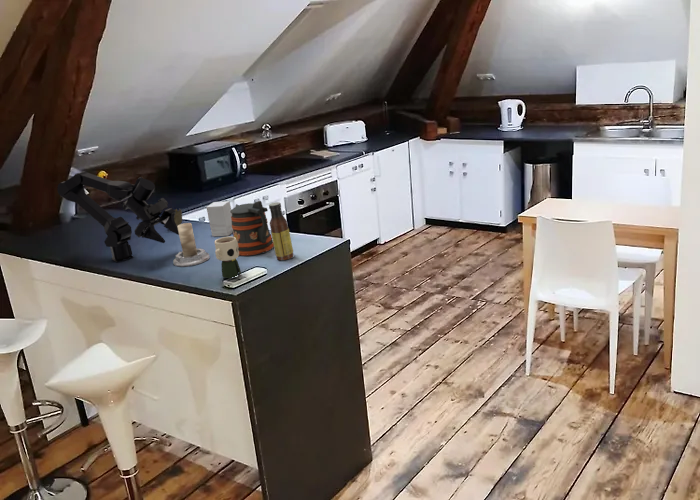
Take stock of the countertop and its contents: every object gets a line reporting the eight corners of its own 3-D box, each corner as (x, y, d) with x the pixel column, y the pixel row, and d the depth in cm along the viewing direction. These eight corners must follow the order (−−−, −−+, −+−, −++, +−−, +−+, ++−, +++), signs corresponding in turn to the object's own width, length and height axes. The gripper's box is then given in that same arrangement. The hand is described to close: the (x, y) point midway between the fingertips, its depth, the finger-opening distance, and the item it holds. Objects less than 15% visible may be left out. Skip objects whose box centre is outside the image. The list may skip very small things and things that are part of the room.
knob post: (184, 261, 247) (177, 228, 243) (184, 257, 252) (177, 224, 248) (198, 258, 248) (191, 225, 244) (197, 254, 252) (191, 222, 249)
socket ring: (182, 269, 241) (180, 262, 241) (168, 261, 252) (166, 254, 251) (215, 258, 248) (214, 251, 247) (200, 251, 259) (199, 244, 258)
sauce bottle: (294, 254, 243) (286, 199, 237) (293, 259, 237) (285, 204, 231) (275, 256, 243) (267, 202, 237) (274, 262, 237) (265, 206, 231)
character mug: (230, 283, 222) (222, 245, 218) (213, 281, 226) (205, 244, 221) (250, 271, 231) (244, 235, 227) (234, 270, 234) (227, 233, 230)
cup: (163, 231, 293) (159, 213, 290) (175, 226, 299) (171, 208, 296) (177, 232, 289) (173, 213, 287) (188, 226, 295) (185, 208, 293)
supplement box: (235, 230, 281) (230, 200, 277) (228, 236, 274) (222, 205, 270) (219, 231, 283) (213, 201, 279) (211, 236, 276) (205, 206, 272)
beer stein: (289, 248, 249) (281, 195, 243) (257, 261, 240) (247, 206, 234) (258, 241, 263) (250, 190, 256) (226, 253, 254) (217, 200, 247)
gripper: (134, 201, 239) (166, 231, 238) (166, 187, 255) (196, 215, 254) (121, 222, 244) (152, 252, 243) (153, 207, 260) (183, 235, 259)
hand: (172, 238), depth 250 cm, fingers open, 9 cm apart
